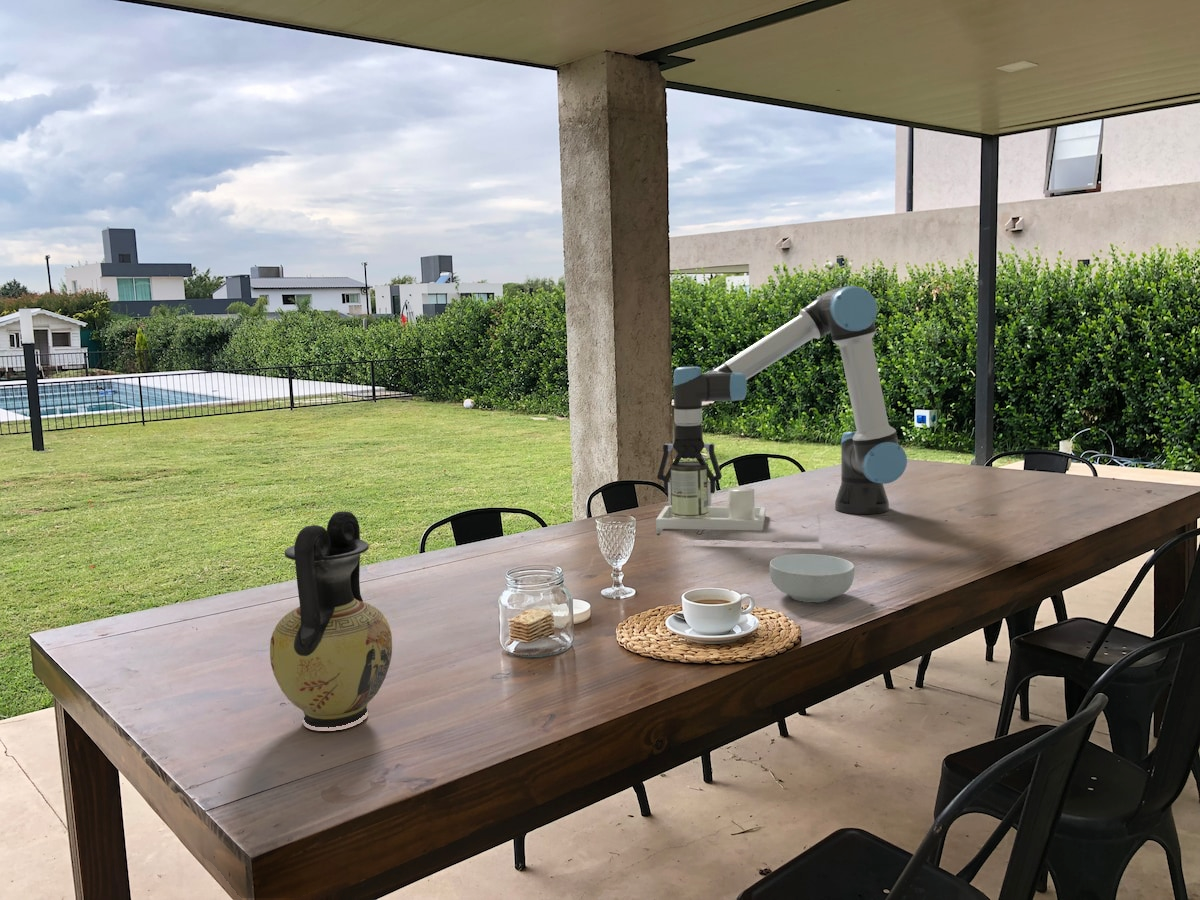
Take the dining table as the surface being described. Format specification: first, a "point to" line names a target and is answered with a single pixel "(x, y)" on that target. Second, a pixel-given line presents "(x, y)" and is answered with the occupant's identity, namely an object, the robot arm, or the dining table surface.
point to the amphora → (330, 629)
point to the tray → (709, 520)
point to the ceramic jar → (741, 503)
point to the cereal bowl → (811, 576)
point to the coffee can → (689, 490)
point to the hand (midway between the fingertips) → (689, 504)
